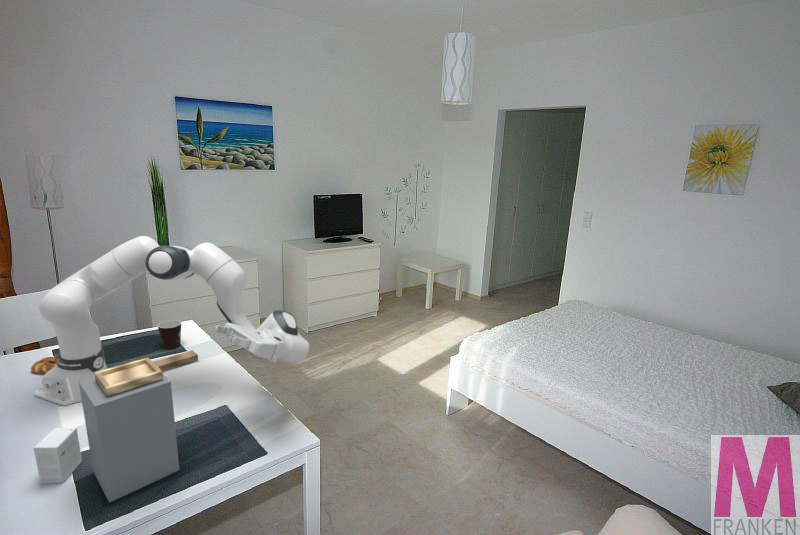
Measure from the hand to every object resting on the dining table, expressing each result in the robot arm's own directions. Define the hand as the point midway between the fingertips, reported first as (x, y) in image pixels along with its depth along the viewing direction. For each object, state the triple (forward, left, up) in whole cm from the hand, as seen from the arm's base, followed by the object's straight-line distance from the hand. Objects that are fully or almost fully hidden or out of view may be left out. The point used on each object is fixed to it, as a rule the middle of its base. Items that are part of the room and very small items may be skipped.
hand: (224, 334), depth 125 cm
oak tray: (-11, -16, -5) cm, 20 cm away
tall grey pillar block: (-14, -21, -31) cm, 40 cm away
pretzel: (-81, +18, -32) cm, 89 cm away
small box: (-32, -25, -32) cm, 52 cm away
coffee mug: (-52, +47, -32) cm, 76 cm away
